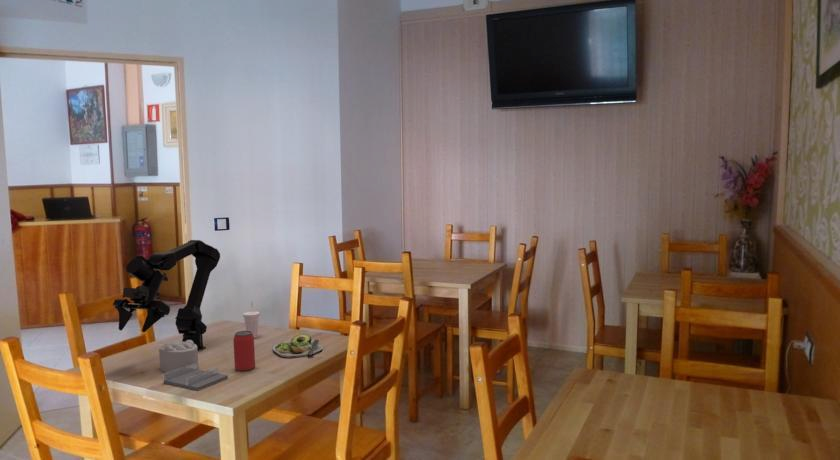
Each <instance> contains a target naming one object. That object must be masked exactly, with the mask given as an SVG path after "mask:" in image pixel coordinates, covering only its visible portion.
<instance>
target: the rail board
mask: <svg viewBox="0 0 840 460" xmlns="http://www.w3.org/2000/svg"><path fill="white" fill-rule="evenodd" d="M219 371H220V370H219V367H217V366H216V367H213V368H209V369H208V370H202V369H199V368H198V369H197V368H196V363H192V364H190V365H187V366H184V367H181V368H178V369H175V370H173V371H170V372H165V373H163V374H162V377H163V378H162V379H163V384H165V385H170V386H174V387H179V388H184V389H189V390H192V391H197V392H199V391H200V390H202V389H205V388H206V389H207V388H208V387H211V386H213V385H215V384H218V383H221V382H222V381H223V382H224V381H225V380H228V379H229V375H227V374H222V373H219Z"/></svg>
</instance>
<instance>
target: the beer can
mask: <svg viewBox="0 0 840 460" xmlns="http://www.w3.org/2000/svg"><path fill="white" fill-rule="evenodd" d="M232 341H233V359H234V369H235V370H237V371H240V372H242V371H243V372H246V371H251V370H253V369H255V367H256V356H255V355H256V354H255V351H256V350H255V338H254V337H253V335H252V332H251V331H246V330H241V331H236V332H235V333H234V336H233V340H232Z"/></svg>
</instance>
